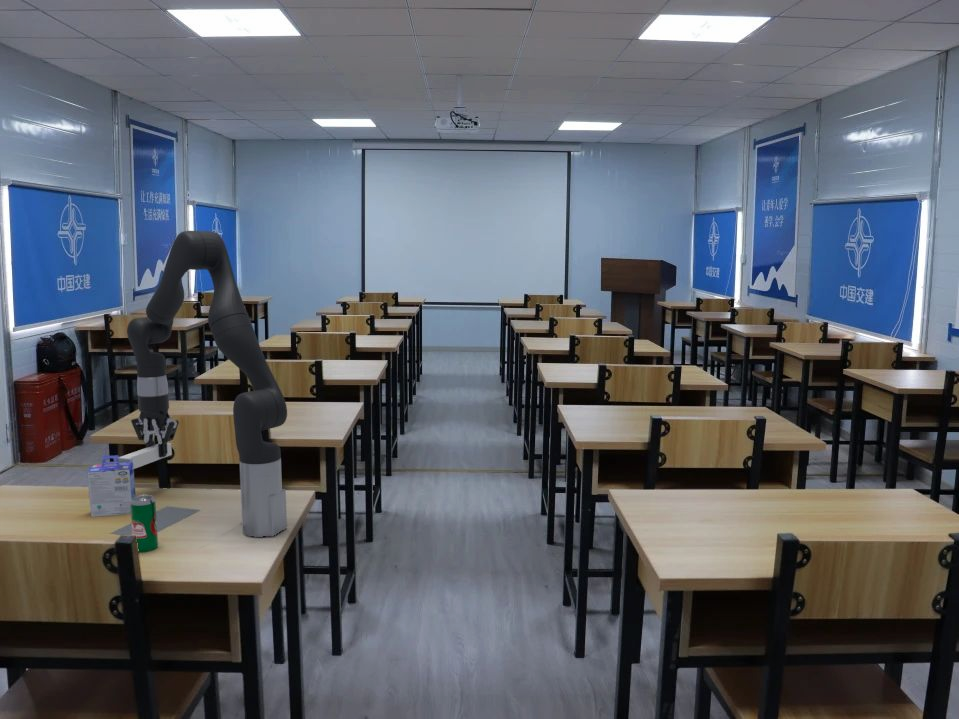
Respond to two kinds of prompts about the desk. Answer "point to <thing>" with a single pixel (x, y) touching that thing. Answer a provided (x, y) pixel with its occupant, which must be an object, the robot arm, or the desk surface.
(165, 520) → the mat
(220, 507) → the desk surface
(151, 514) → the soda can
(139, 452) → the white square rod
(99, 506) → the ink cartridge box
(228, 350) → the robot arm
